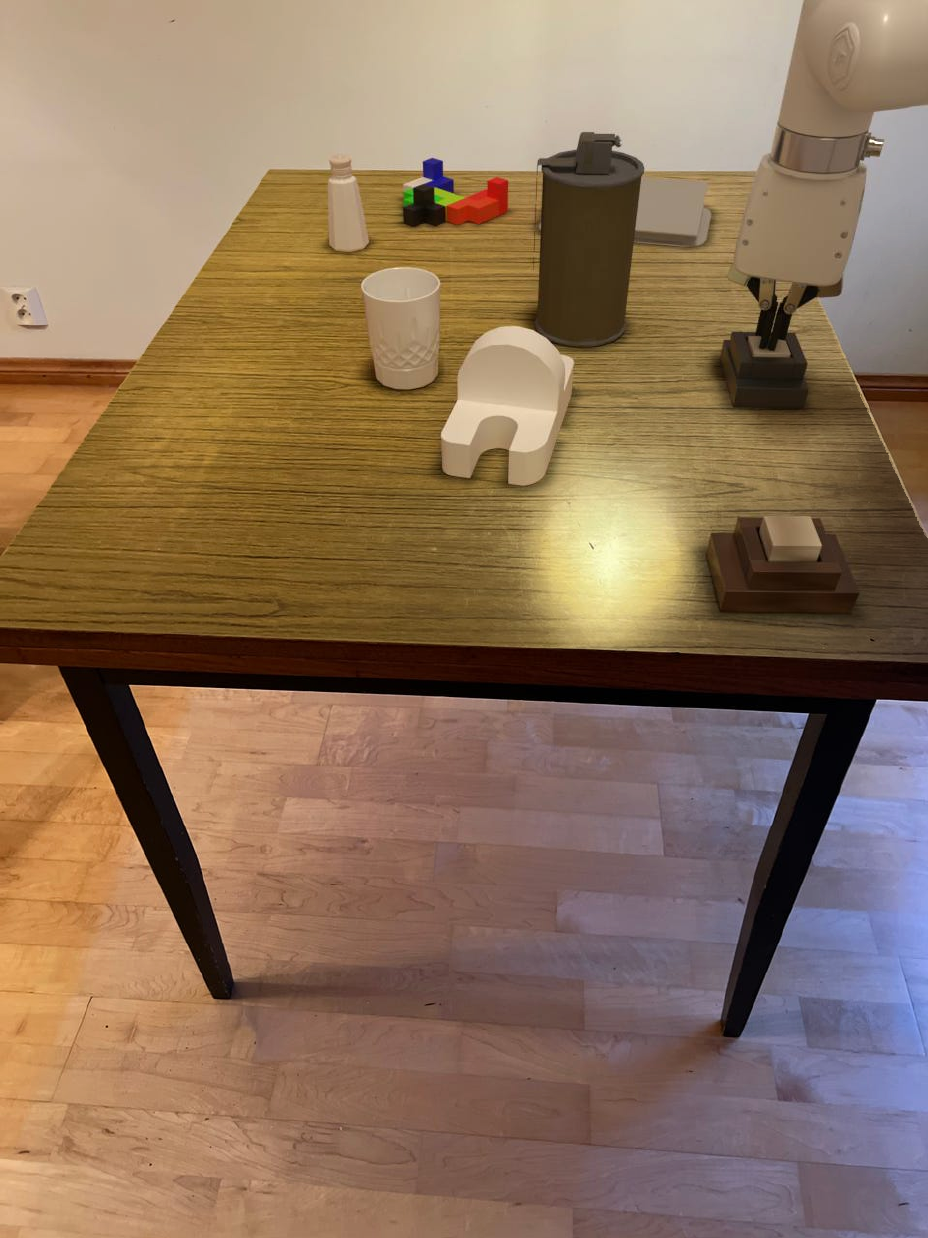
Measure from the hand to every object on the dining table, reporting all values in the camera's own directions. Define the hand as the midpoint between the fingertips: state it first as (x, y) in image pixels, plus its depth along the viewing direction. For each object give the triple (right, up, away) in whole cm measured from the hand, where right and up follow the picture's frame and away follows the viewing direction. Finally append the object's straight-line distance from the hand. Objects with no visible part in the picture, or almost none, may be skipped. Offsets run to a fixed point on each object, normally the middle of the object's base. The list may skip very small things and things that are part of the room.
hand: (768, 343), depth 89 cm
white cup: (-37, -2, +5) cm, 38 cm away
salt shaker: (-47, +23, +30) cm, 60 cm away
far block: (0, -3, +3) cm, 4 cm away
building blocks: (-34, +31, +38) cm, 60 cm away
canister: (-18, +6, +13) cm, 23 cm away
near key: (-6, -22, -22) cm, 32 cm away
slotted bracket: (-26, -9, -2) cm, 28 cm away
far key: (0, -1, +1) cm, 2 cm away
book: (-8, +28, +35) cm, 46 cm away
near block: (-6, -25, -19) cm, 32 cm away
